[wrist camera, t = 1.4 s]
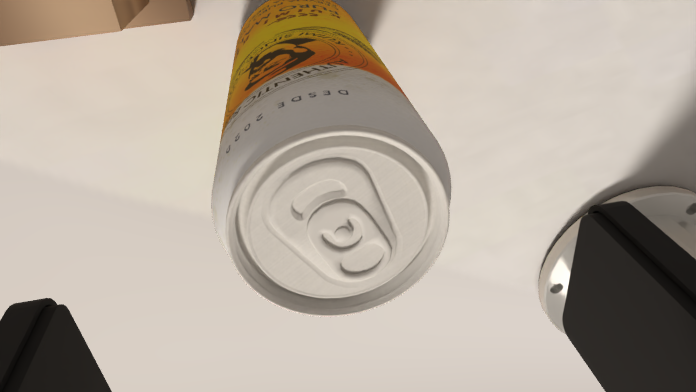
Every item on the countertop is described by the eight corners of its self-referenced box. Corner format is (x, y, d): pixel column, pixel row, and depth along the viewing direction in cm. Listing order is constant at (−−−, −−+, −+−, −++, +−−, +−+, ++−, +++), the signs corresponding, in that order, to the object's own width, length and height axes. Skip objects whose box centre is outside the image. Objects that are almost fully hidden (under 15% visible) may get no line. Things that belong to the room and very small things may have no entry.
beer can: (320, -38, 23) (394, 54, 10) (384, 74, 26) (502, 255, 13) (209, 36, 24) (147, 208, 11) (283, 136, 27) (302, 361, 14)
